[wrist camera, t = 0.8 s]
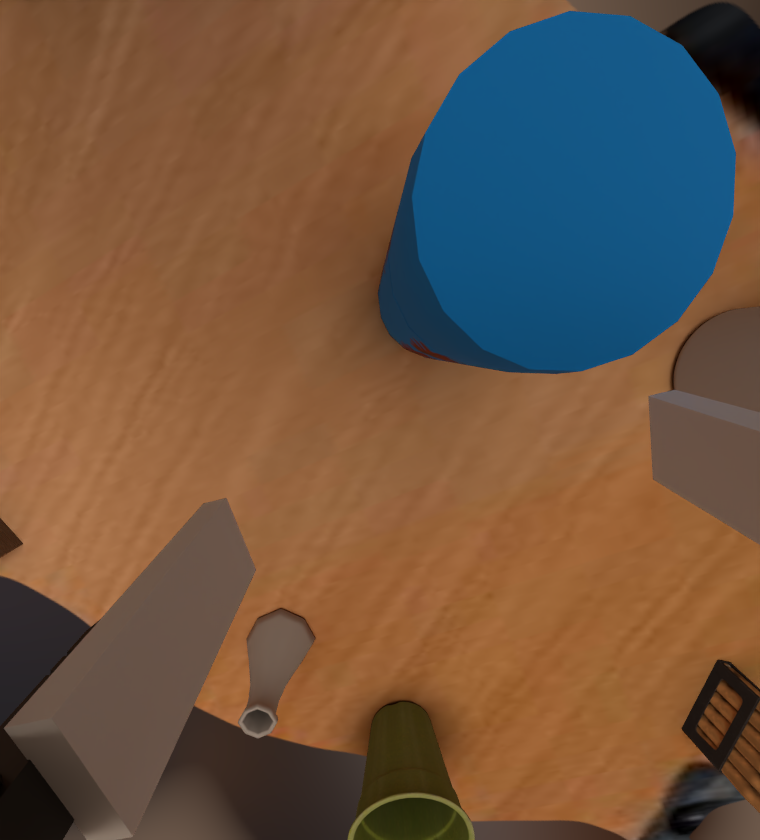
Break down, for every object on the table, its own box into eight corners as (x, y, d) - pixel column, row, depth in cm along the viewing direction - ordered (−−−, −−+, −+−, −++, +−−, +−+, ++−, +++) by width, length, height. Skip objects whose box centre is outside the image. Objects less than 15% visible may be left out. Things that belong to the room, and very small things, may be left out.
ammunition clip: (693, 731, 48) (801, 856, 36) (681, 729, 48) (784, 853, 36) (730, 662, 46) (856, 769, 34) (717, 659, 46) (839, 766, 34)
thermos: (359, 331, 37) (353, 301, 12) (402, 222, 35) (494, -72, 10) (460, 373, 38) (639, 422, 13) (506, 269, 36) (807, 107, 12)
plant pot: (354, 681, 44) (352, 793, 33) (453, 685, 45) (483, 795, 34) (347, 762, 47) (342, 892, 36) (442, 764, 47) (466, 892, 36)
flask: (235, 636, 43) (197, 723, 33) (281, 596, 42) (256, 673, 32) (282, 675, 44) (258, 769, 34) (326, 636, 43) (316, 722, 33)
